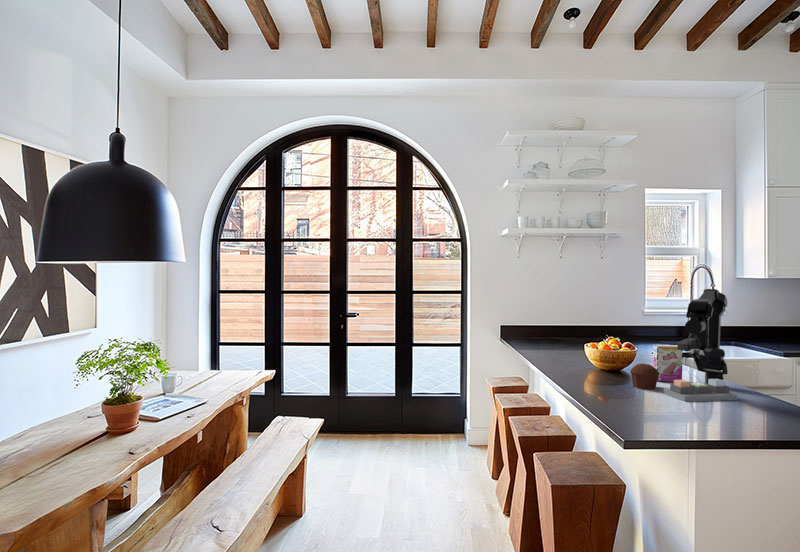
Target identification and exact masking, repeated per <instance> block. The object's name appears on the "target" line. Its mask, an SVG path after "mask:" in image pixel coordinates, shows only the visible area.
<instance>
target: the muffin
mask: <svg viewBox="0 0 800 552" xmlns="http://www.w3.org/2000/svg"><path fill="white" fill-rule="evenodd" d="M629 372H630V373H629V374H631V380H632V386H633V388H635V387H636V389H638V388H639V390H645V391H646V390H648V391H653V390H657V389H656V388H657V378H658V375H659V372H658V371H657V370H656V368H654V367H653V365H651V364H648V363H645V362H644V363H637V364H634V366H632V368H631V369H630V370H629Z"/></svg>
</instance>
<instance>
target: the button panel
mask: <svg viewBox="0 0 800 552" xmlns="http://www.w3.org/2000/svg"><path fill="white" fill-rule="evenodd" d="M704 384H706V385H708V387H697V386H694V385H691V383H690V387H678V386H675V385H674V383H671V384H669V386H670V387H669V388H663V394H664V395H666V396H669V397H671V398H675V399H677V400H679V401H682V402H708V401H709V402H710V401H712V402H713V401H717V402H718V401H737V400H738V394H737V393H733V392H730V386H729V385H726V384H725V386H713V385H709V384H708V383H705V382H704Z"/></svg>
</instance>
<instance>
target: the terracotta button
mask: <svg viewBox="0 0 800 552" xmlns="http://www.w3.org/2000/svg"><path fill="white" fill-rule="evenodd" d="M673 384H674V385H675V386H678V387H690V384H691V381H689V380H685V379H682V380H674V382H673Z"/></svg>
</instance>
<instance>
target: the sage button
mask: <svg viewBox="0 0 800 552" xmlns="http://www.w3.org/2000/svg"><path fill="white" fill-rule="evenodd" d="M690 384H691V385H694V386H697V387H708V385H706V384H705V383H702V382H690Z"/></svg>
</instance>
